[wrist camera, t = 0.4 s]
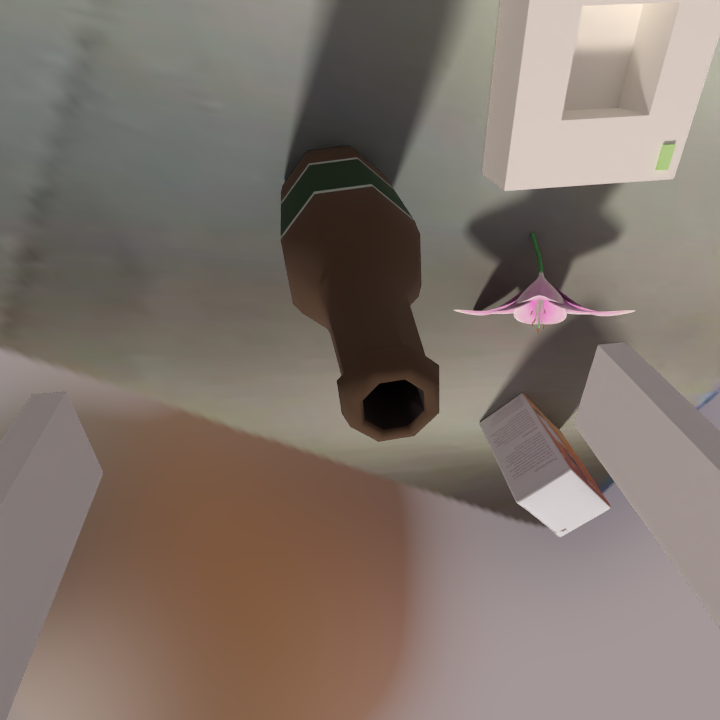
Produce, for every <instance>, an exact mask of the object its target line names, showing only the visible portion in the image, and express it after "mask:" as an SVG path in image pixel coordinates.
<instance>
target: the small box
mask: <svg viewBox="0 0 720 720" xmlns="http://www.w3.org/2000/svg"><path fill="white" fill-rule="evenodd" d="M480 426H481V428H482V431H483V433H484V435H485V437H486V439H487V441H488V443H489V445H490V448H491V450H492V452H493V454H494V456H495V458H496V460H497V462H498V465H499V467H500V469H501V471H502V473H503V475H504V477H505V479H506V481H507V484H508V486H509V488H510V490H511V492H512V494H513V496H514V498H515V500H516V502H517V503H518V504H519V505H521V506H522V507H524V508H525V509H526V510H528V511H529V512H530V513H531V514H533V515H534V516H535V517H536V518H538V519H539V520H540V521H541V522H543V523H544V524H545V525H546V526H547V527H549V528H550V529H551V530H552V531H553V532H554V533H555V534H556V535H557V536H558V537H562V536H563V535H565V534H567V533H569V532H570V531H572V530H574V529H576V528H577V527H579V526H581V525H583V524H584V523H586V522H588V521H589V520H591V519H593V518H595V517H596V516H598V515H600V514H601V513H603V512H605V511H607V510H608V509H610V508H611V506H610V504H609V503H608V502H607V500H606V499H605V497H604V496H603V494H602V493H601V491H600V490H599V488H598V487H597V485H596V484H595V482H594V481H593V479H592V478H591V476H590V475H589V473H588V472H587V470H586V468H585V467H584V465H583V464H582V462H581V461H580V459H579V458H578V456H577V455H576V453H575V452H574V450H573V449H572V447H571V446H570V444H569V443H568V441H567V440H566V438H565V437H564V435H563V434H562V432H561V431H560V430H559V429H558V428H557V427H556V426H555V425H554V424H553V423H552V422H551V421H550V420H549V419H548V418H547V417H546V416H545V415H544V414H543V413H542V412H541V411H540V410H539V409H538V408H537V407H536V406H535V405H534V404H533V403H532V402H531V401H530V400H529V398H528V397H527V396H526V395H525V394H524V393H521V394H519V395H518V396H517V397H515V398H514V399H513V400H511V401H510V402H508V403H507V404H506V405H504V406H503V407H501V408H500V409H498V410H497V411H496V412H494V413H493V414H491V415H490V416H489V417H487V418H486V419H484V420H483V421H481V422H480Z"/></svg>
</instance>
